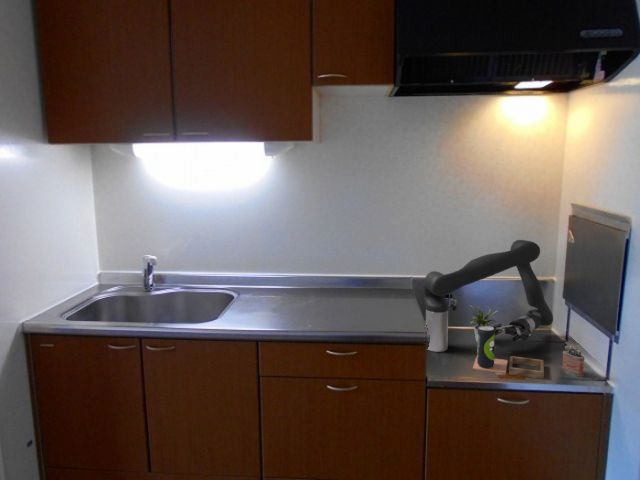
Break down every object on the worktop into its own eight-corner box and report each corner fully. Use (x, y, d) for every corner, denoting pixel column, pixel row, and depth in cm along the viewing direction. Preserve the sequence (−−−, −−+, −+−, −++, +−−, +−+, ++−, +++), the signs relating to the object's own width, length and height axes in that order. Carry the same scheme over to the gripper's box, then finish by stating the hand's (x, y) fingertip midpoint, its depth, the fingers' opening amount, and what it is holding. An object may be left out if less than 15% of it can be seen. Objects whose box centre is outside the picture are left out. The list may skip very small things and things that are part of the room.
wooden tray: (508, 374, 187) (508, 367, 187) (510, 362, 198) (510, 356, 198) (543, 379, 183) (543, 372, 182) (543, 366, 194) (543, 360, 193)
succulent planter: (585, 376, 184) (586, 350, 183) (579, 378, 183) (581, 352, 181) (565, 368, 191) (566, 343, 190) (559, 370, 190) (561, 345, 188)
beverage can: (475, 362, 197) (475, 325, 195) (490, 362, 197) (491, 325, 195) (480, 368, 191) (481, 330, 189) (496, 368, 191) (497, 330, 189)
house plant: (455, 339, 223) (456, 304, 221) (474, 332, 232) (475, 298, 229) (483, 349, 212) (484, 312, 209) (502, 341, 220) (503, 305, 218)
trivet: (472, 369, 192) (472, 367, 192) (476, 357, 203) (476, 356, 203) (505, 373, 188) (505, 372, 188) (507, 361, 199) (507, 360, 198)
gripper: (506, 314, 215) (486, 323, 204) (539, 321, 204) (520, 331, 194) (505, 331, 216) (486, 340, 206) (538, 339, 206) (519, 350, 195)
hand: (502, 336), depth 200 cm, fingers open, 8 cm apart
